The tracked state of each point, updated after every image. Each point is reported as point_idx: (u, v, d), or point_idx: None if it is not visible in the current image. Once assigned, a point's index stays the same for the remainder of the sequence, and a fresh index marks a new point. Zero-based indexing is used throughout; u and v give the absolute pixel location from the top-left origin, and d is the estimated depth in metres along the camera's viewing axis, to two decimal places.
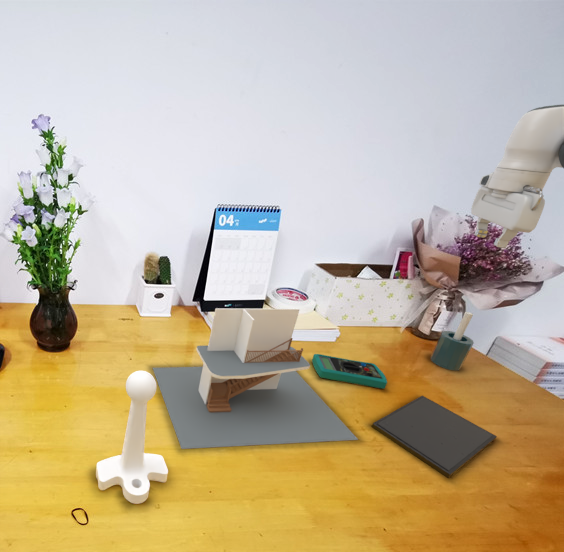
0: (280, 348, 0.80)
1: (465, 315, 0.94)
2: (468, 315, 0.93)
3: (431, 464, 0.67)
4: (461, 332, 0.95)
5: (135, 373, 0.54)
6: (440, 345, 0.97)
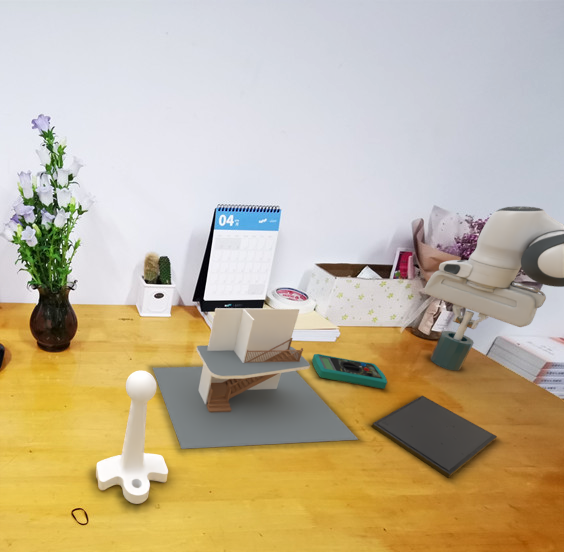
0: (280, 348, 0.80)
1: (466, 314, 0.94)
2: (469, 314, 0.93)
3: (431, 464, 0.67)
4: (462, 331, 0.95)
5: (135, 373, 0.54)
6: (440, 345, 0.97)
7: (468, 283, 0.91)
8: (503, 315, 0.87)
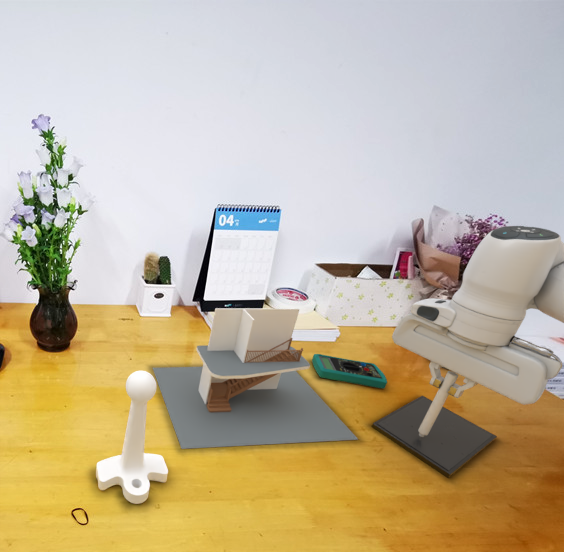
0: (280, 348, 0.80)
1: (447, 376, 0.67)
2: (452, 377, 0.66)
3: (431, 464, 0.67)
4: (442, 399, 0.68)
5: (135, 373, 0.54)
6: None
7: (450, 335, 0.64)
8: (499, 385, 0.60)
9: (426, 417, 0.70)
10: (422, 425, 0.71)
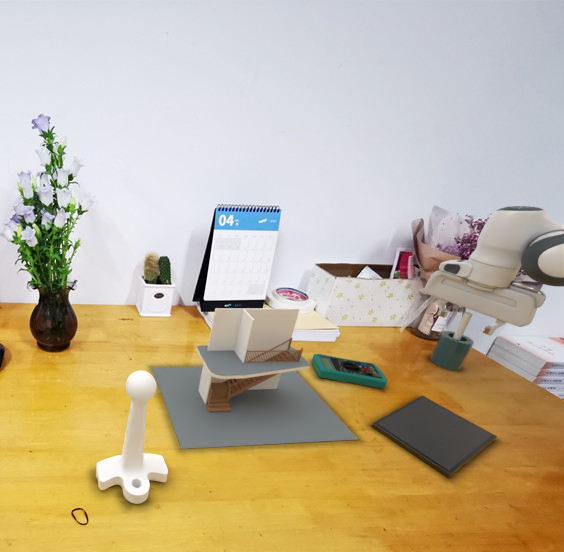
0: (280, 348, 0.80)
1: (465, 315, 0.94)
2: (468, 315, 0.93)
3: (431, 464, 0.67)
4: (461, 332, 0.95)
5: (135, 373, 0.54)
6: (440, 345, 0.97)
7: (468, 283, 0.91)
8: (503, 315, 0.87)
9: None
10: None
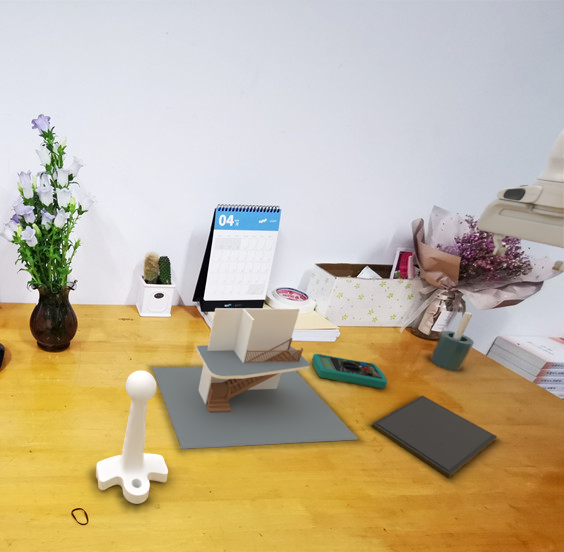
0: (280, 348, 0.80)
1: (465, 315, 0.94)
2: (468, 315, 0.93)
3: (431, 464, 0.67)
4: (461, 332, 0.95)
5: (135, 373, 0.54)
6: (440, 345, 0.97)
7: (535, 210, 0.76)
8: None
9: None
10: None
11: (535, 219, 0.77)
